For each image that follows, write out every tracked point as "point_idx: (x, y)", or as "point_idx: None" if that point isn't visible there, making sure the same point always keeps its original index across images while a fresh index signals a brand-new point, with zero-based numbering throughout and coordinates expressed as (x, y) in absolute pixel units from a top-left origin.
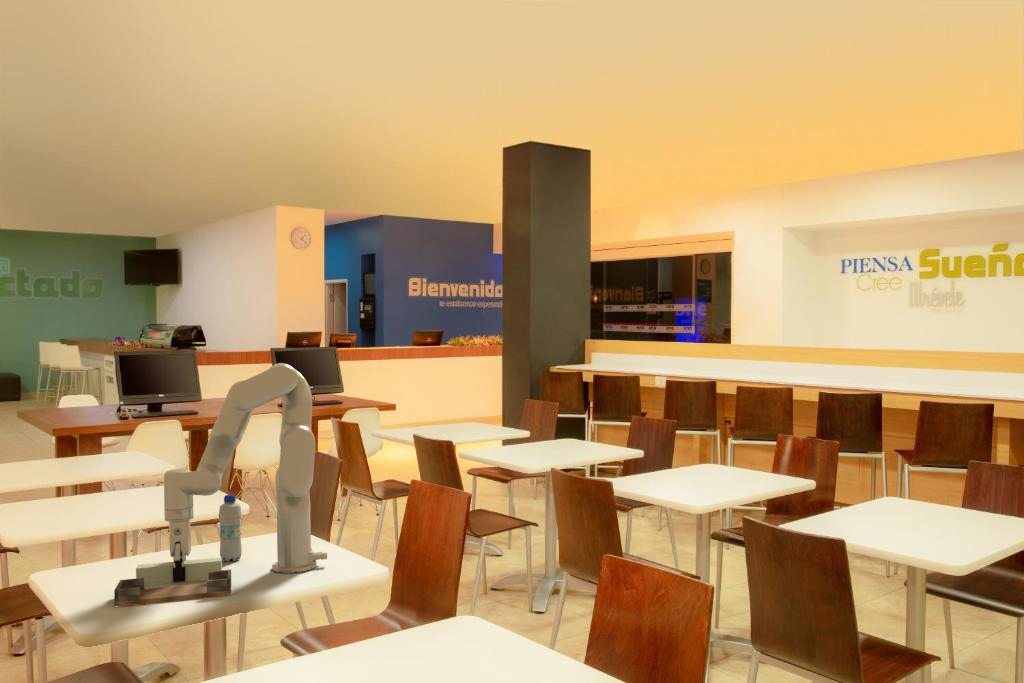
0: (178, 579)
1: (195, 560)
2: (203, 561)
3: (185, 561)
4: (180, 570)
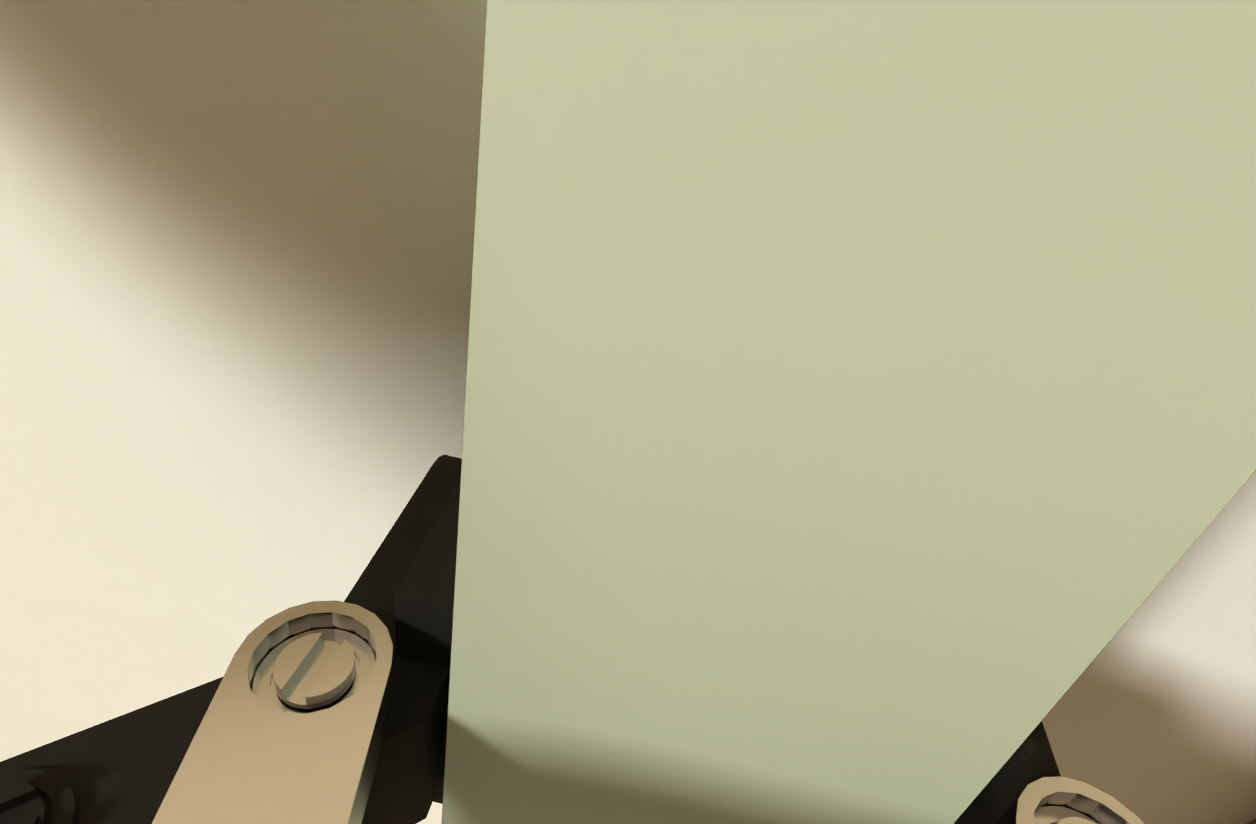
0: None
1: (617, 451)
2: (1197, 109)
3: (570, 716)
4: (1034, 768)
